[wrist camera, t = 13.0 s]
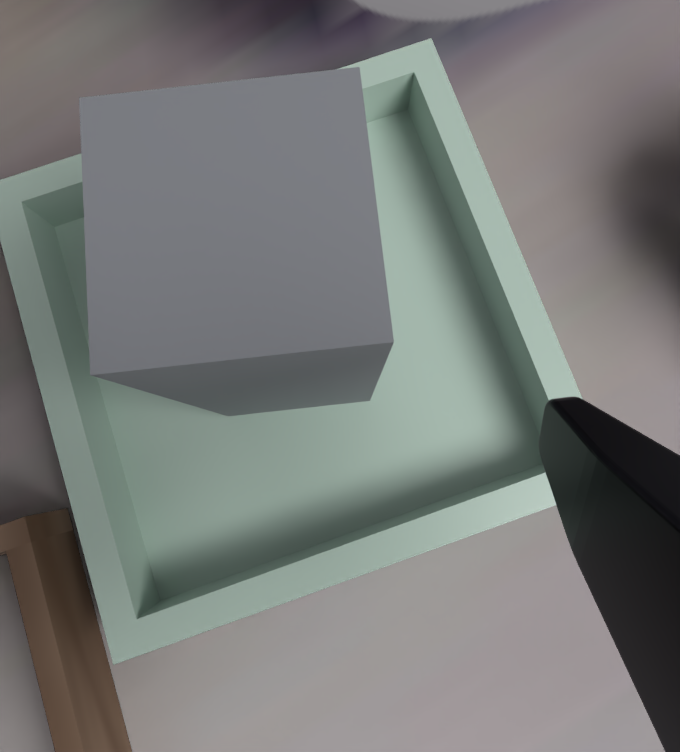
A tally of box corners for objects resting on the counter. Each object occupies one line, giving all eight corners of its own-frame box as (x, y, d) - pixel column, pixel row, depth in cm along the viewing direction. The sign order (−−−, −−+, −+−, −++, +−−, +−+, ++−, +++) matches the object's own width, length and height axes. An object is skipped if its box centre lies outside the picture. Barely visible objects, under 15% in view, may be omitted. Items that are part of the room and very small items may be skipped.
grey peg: (354, 265, 19) (359, 67, 9) (369, 401, 19) (393, 341, 9) (217, 280, 19) (79, 97, 9) (228, 416, 19) (90, 375, 9)
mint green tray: (421, 89, 21) (431, 38, 18) (580, 478, 19) (617, 482, 16) (31, 218, 20) (-15, 184, 18) (146, 634, 18) (113, 664, 16)
